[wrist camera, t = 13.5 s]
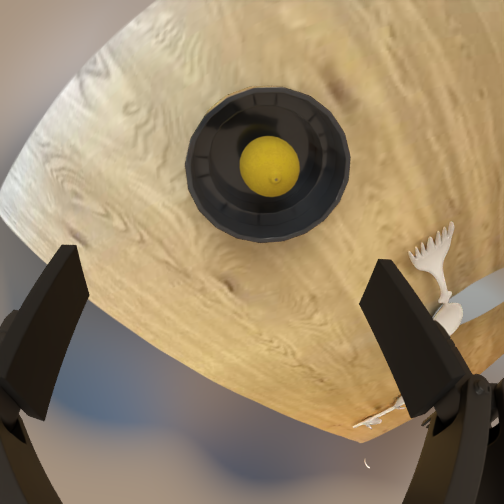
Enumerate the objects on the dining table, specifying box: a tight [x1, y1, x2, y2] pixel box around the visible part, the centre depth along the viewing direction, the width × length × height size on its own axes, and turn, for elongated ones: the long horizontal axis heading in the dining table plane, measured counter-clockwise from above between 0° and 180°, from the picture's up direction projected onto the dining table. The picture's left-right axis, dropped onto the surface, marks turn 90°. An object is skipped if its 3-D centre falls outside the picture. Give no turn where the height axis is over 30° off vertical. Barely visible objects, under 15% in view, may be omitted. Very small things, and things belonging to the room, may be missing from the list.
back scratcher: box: [408, 221, 463, 336], centre depth 43 cm, size 9×32×4 cm, turn 36°
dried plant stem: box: [353, 395, 405, 468], centre depth 63 cm, size 12×19×40 cm
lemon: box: [240, 136, 300, 197], centre depth 26 cm, size 6×6×8 cm
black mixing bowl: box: [185, 86, 350, 243], centre depth 27 cm, size 15×15×6 cm
